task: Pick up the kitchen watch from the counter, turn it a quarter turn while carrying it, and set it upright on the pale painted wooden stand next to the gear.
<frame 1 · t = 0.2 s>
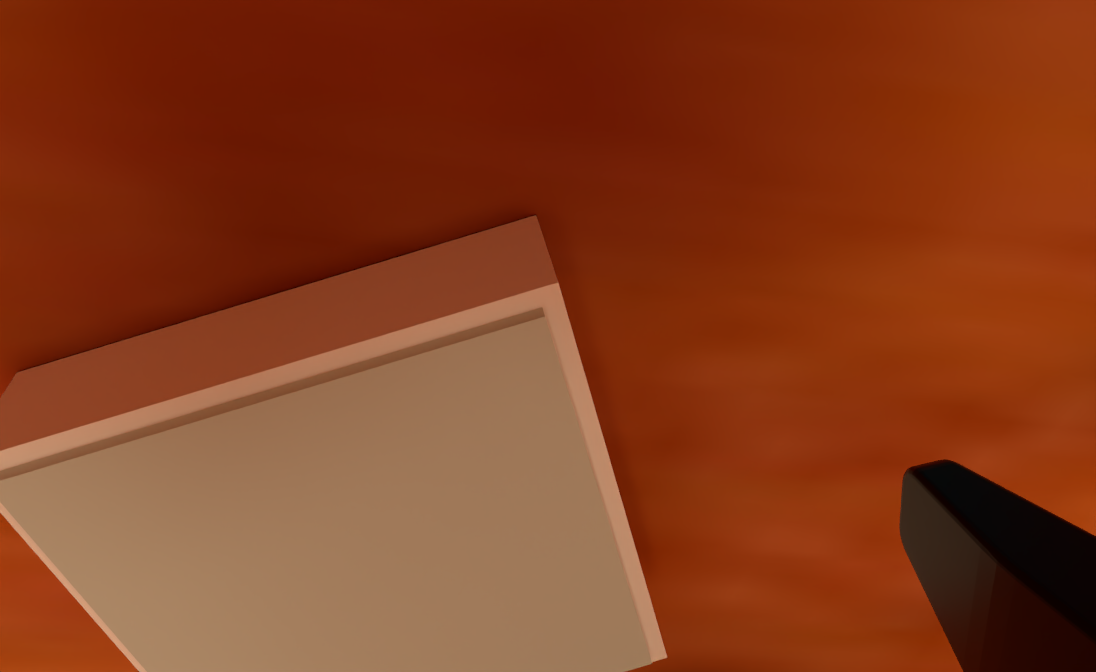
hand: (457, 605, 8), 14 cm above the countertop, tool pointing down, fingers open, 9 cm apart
stand: (373, 485, 26), on the countertop
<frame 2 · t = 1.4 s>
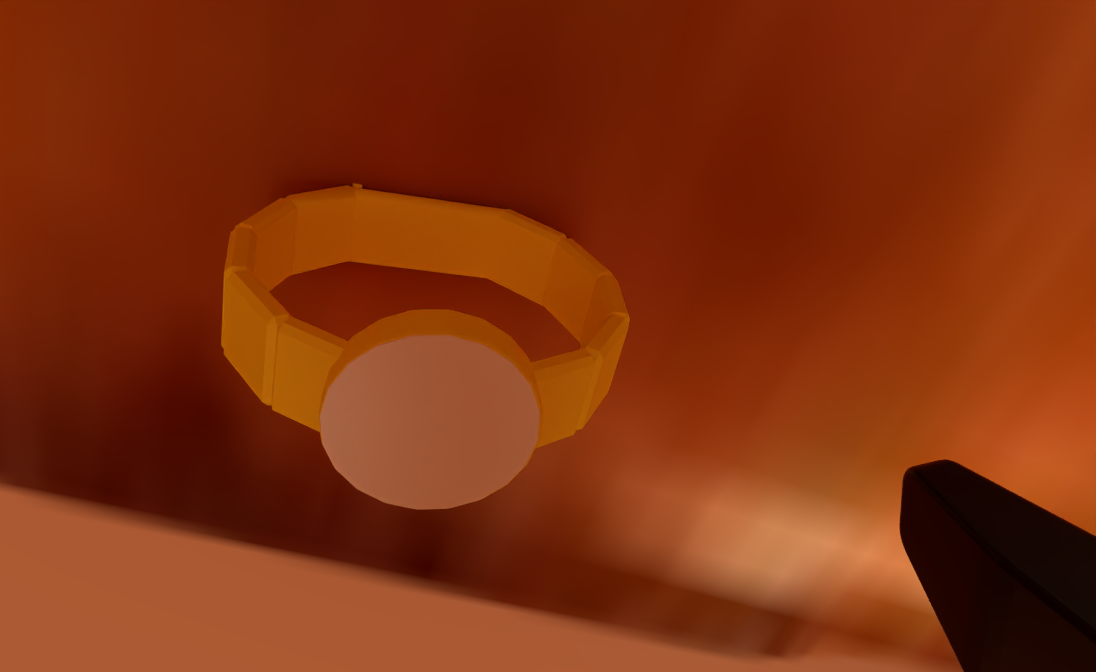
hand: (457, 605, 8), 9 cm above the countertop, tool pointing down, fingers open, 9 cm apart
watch: (424, 226, 16), on the countertop
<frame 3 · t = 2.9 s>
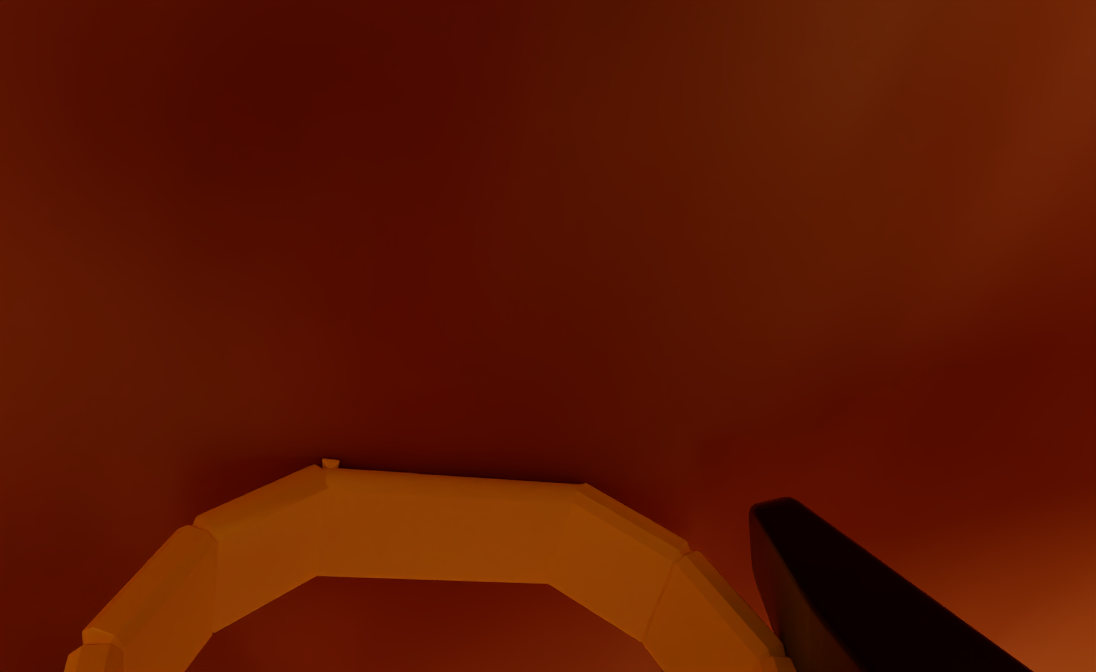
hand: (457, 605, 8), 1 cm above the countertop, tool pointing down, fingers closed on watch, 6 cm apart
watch: (444, 505, 9), on the countertop, touching gripper
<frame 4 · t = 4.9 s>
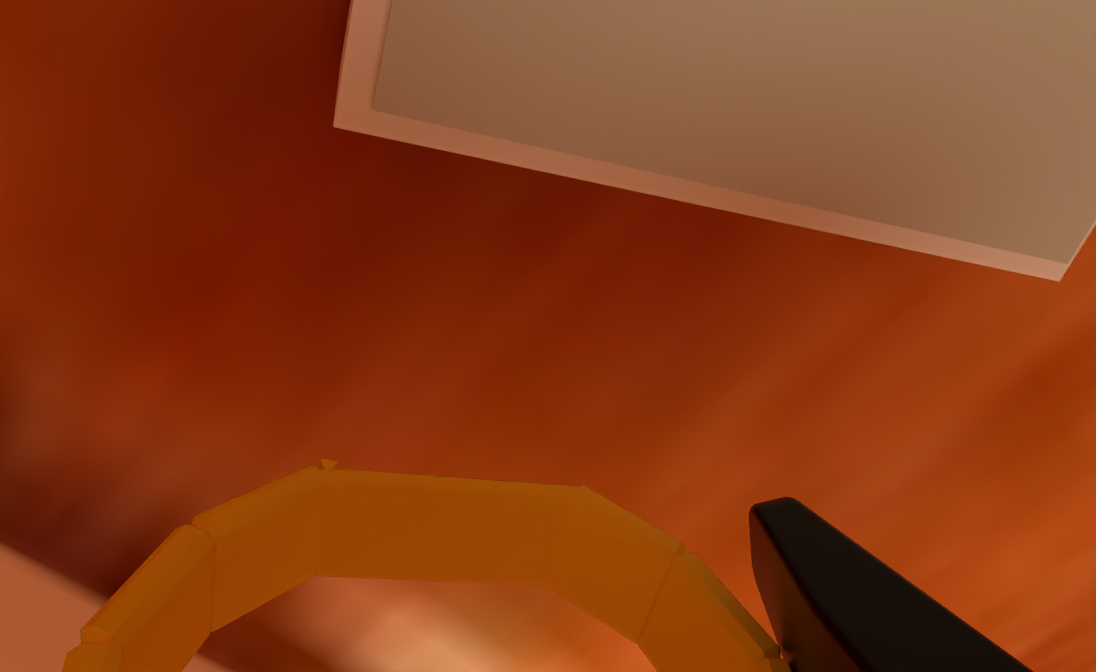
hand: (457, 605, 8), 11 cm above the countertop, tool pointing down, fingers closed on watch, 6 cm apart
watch: (441, 506, 10), point 9 cm above the countertop, touching gripper
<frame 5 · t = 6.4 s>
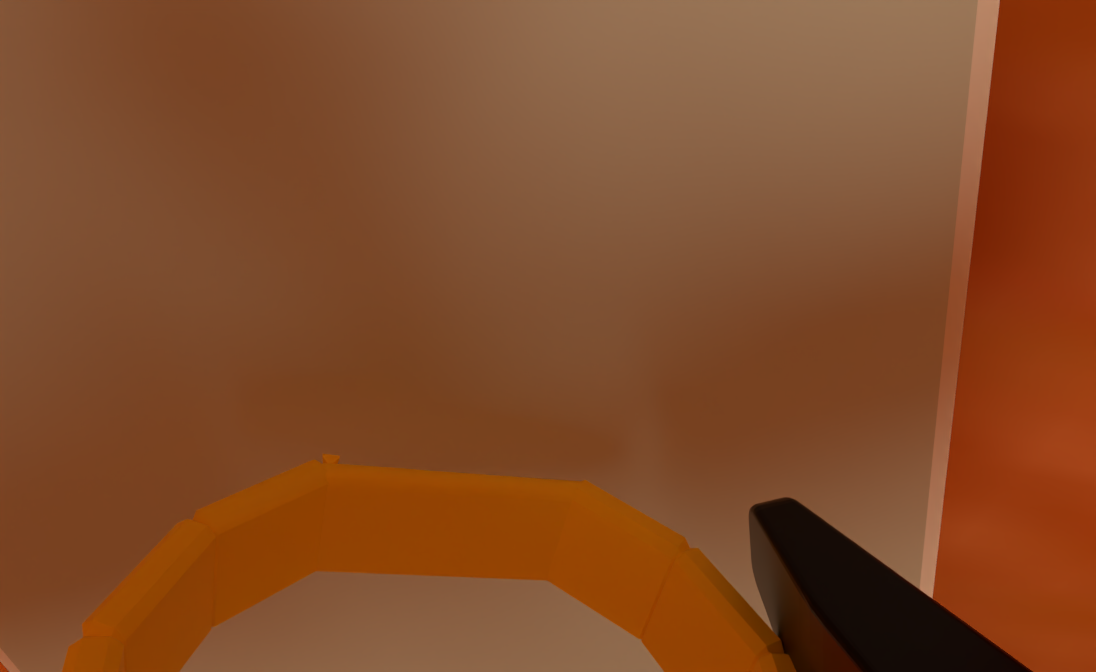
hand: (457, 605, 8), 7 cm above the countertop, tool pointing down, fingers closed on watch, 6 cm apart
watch: (444, 501, 9), point 5 cm above the countertop, touching gripper
stand: (427, 266, 14), on the countertop
when the fingers open (7 cm above the countertop, at t = 7.2 s): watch drops 1 cm, resting on stand.
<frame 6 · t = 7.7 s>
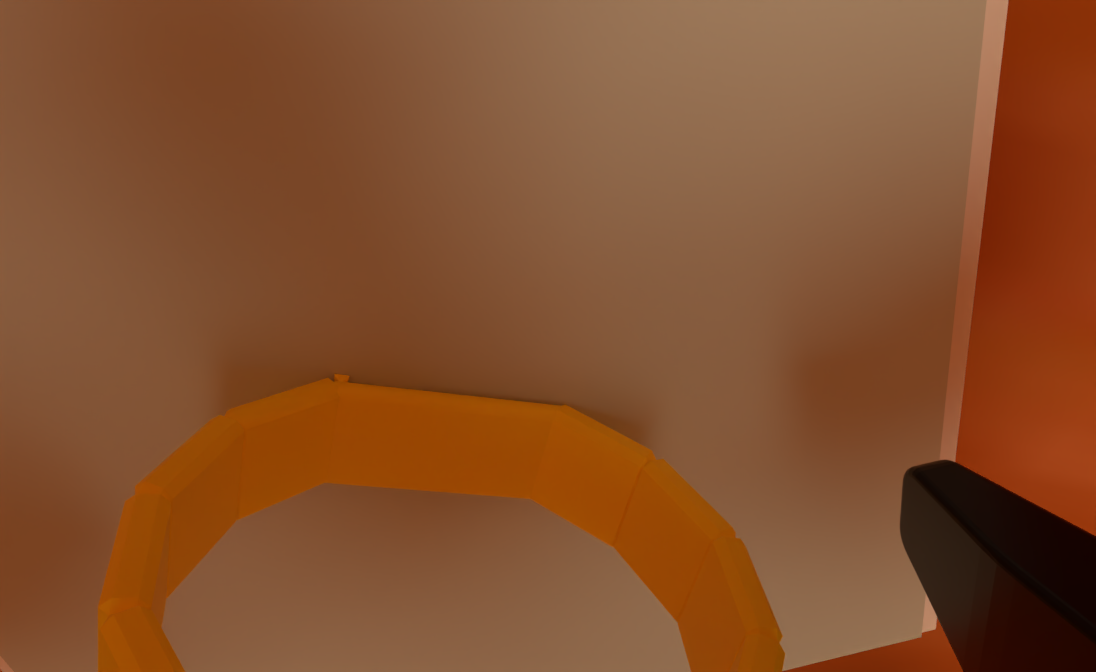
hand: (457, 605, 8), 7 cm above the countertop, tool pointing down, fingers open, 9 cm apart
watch: (439, 425, 11), point 4 cm above the countertop, touching stand
stand: (431, 274, 14), on the countertop
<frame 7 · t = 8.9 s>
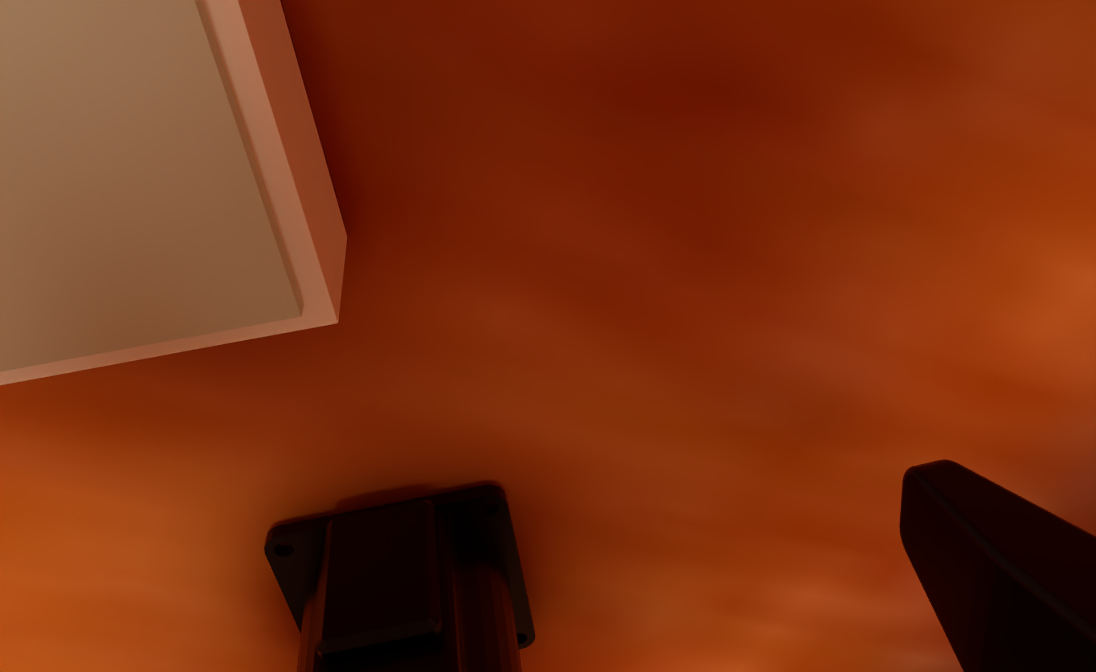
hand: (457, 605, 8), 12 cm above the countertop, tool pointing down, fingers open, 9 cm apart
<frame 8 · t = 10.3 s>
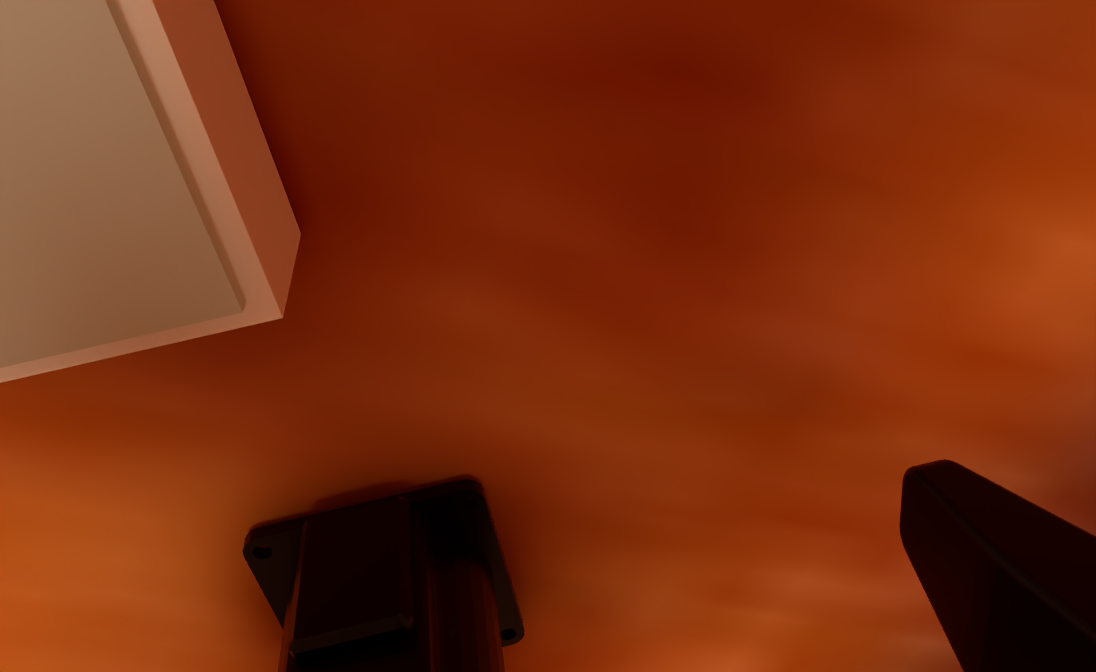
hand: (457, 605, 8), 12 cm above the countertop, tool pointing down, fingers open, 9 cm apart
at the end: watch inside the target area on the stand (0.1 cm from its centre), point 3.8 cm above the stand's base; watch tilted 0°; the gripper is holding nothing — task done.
